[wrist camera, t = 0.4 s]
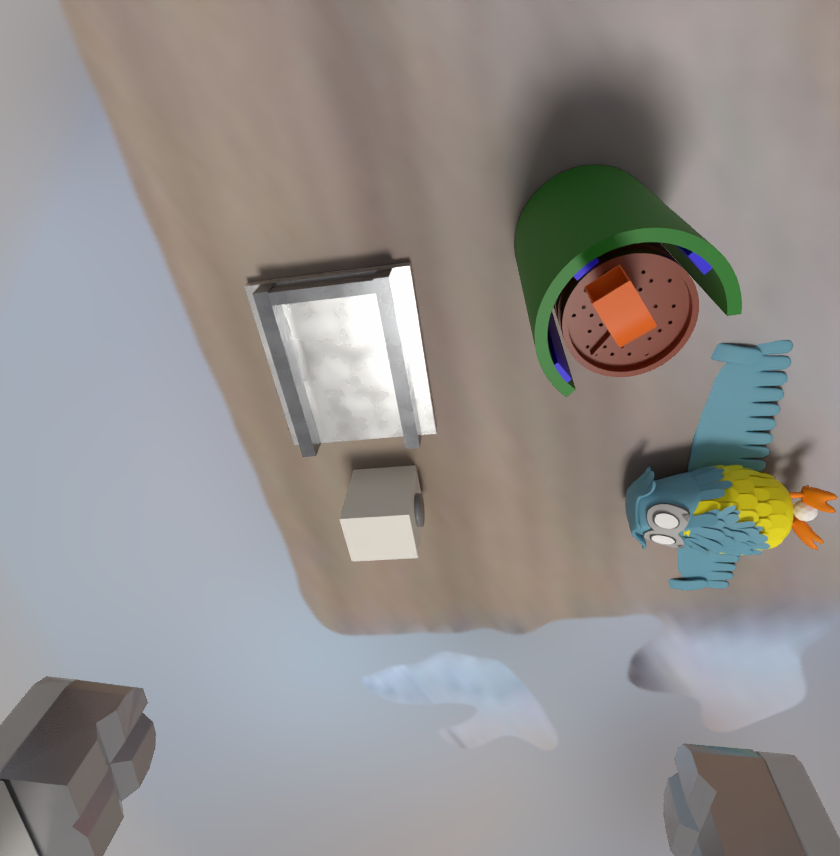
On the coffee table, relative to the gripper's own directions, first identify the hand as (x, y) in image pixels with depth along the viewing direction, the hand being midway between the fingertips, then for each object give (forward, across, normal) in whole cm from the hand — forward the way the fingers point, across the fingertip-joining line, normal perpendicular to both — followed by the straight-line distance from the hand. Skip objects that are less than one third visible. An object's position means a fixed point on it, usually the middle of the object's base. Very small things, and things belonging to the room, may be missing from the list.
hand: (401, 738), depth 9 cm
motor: (+40, -8, -2) cm, 41 cm away
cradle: (+41, +10, +9) cm, 43 cm away
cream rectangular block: (+42, +7, +23) cm, 49 cm away
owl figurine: (+44, -22, +20) cm, 53 cm away
